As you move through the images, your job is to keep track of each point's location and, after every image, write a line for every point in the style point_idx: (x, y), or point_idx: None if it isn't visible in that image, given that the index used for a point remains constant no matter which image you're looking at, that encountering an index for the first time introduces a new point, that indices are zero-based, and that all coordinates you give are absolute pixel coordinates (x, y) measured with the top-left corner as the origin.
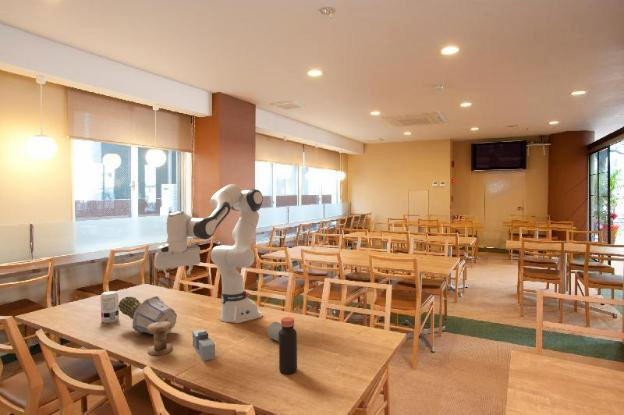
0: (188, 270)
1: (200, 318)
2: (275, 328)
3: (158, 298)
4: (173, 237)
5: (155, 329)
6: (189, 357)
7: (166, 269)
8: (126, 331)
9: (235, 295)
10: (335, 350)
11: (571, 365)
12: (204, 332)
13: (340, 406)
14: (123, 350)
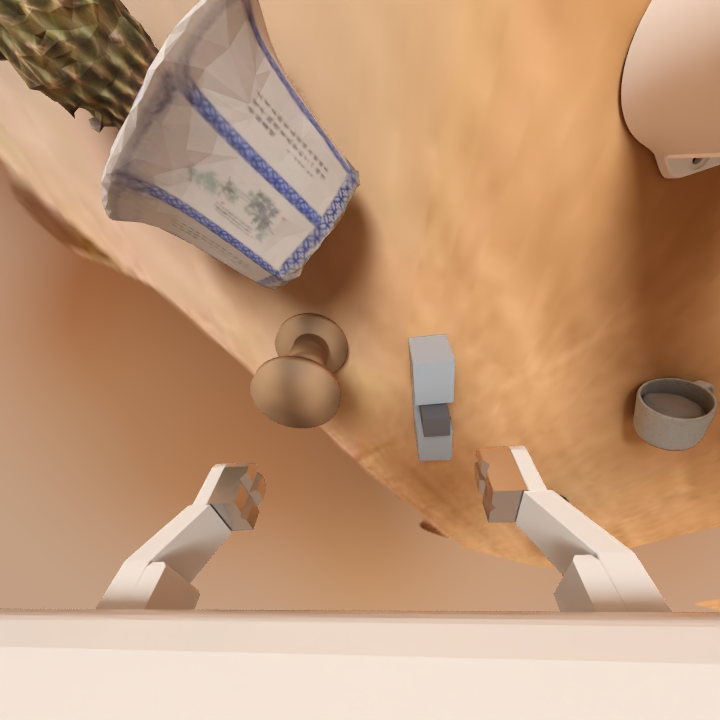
0: (523, 503)
1: None
2: (662, 437)
3: (189, 73)
4: None
5: (286, 424)
6: (388, 407)
7: (195, 603)
8: None
9: None
10: (701, 479)
11: None
12: (442, 424)
13: (543, 564)
14: (195, 304)
